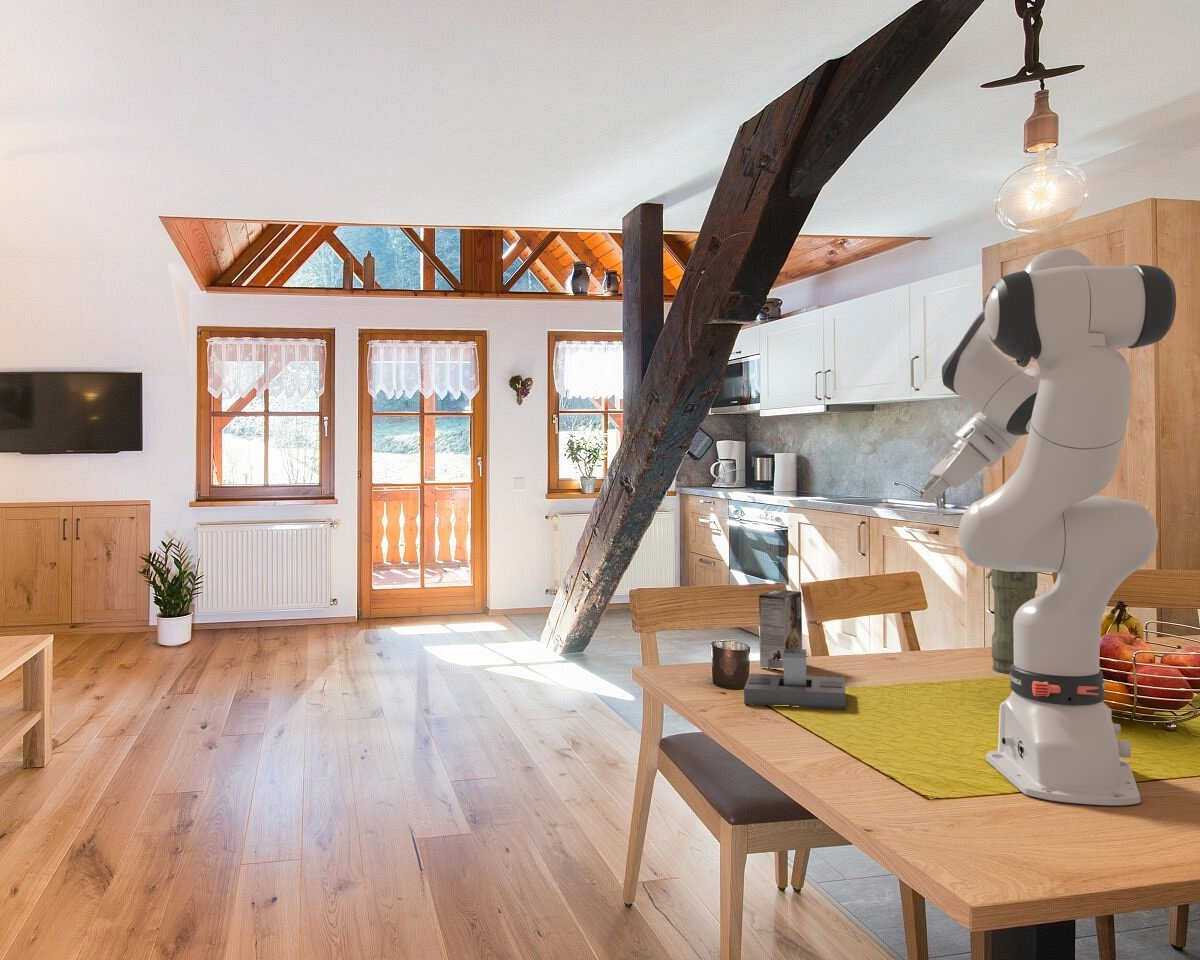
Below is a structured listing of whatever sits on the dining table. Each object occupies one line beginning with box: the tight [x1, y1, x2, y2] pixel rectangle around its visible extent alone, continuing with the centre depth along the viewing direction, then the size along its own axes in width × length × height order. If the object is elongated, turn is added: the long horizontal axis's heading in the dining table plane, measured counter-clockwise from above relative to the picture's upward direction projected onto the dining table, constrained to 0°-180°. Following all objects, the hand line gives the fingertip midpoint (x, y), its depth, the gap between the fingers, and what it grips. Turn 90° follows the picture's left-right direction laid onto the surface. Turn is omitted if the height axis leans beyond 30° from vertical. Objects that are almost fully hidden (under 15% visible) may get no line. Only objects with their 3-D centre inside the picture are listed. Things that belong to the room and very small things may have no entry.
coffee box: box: [758, 589, 803, 668], centre depth 194 cm, size 9×6×16 cm
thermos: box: [990, 569, 1038, 675], centre depth 187 cm, size 9×12×35 cm
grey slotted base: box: [743, 673, 847, 711], centre depth 167 cm, size 12×18×3 cm, turn 76°
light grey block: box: [783, 648, 807, 687], centre depth 167 cm, size 4×4×9 cm
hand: (922, 498), depth 164 cm, fingers open, 8 cm apart
